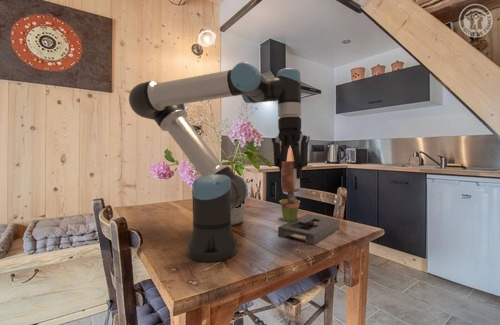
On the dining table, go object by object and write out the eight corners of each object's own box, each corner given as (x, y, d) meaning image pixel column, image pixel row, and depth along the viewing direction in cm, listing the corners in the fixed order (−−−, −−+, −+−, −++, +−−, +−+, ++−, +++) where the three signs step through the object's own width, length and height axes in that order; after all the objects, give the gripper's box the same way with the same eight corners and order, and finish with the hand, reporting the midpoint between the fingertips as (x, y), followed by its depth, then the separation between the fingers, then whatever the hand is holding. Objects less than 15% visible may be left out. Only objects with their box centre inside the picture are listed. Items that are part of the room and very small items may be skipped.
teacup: (240, 227, 101) (240, 208, 100) (215, 225, 103) (215, 207, 102) (247, 218, 114) (247, 201, 114) (225, 217, 116) (225, 200, 116)
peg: (279, 206, 81) (278, 161, 81) (288, 203, 85) (287, 161, 85) (293, 208, 77) (293, 161, 77) (302, 205, 81) (301, 161, 81)
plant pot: (278, 222, 108) (278, 202, 108) (280, 216, 117) (280, 198, 117) (299, 223, 106) (299, 203, 106) (300, 217, 115) (300, 199, 115)
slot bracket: (278, 236, 90) (278, 226, 90) (307, 221, 108) (307, 214, 108) (313, 244, 81) (313, 234, 81) (339, 227, 99) (339, 219, 99)
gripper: (318, 115, 77) (319, 188, 78) (275, 121, 89) (276, 185, 90) (307, 112, 72) (308, 191, 73) (262, 119, 83) (263, 187, 84)
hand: (290, 187), depth 81 cm, fingers closed on peg, 4 cm apart
